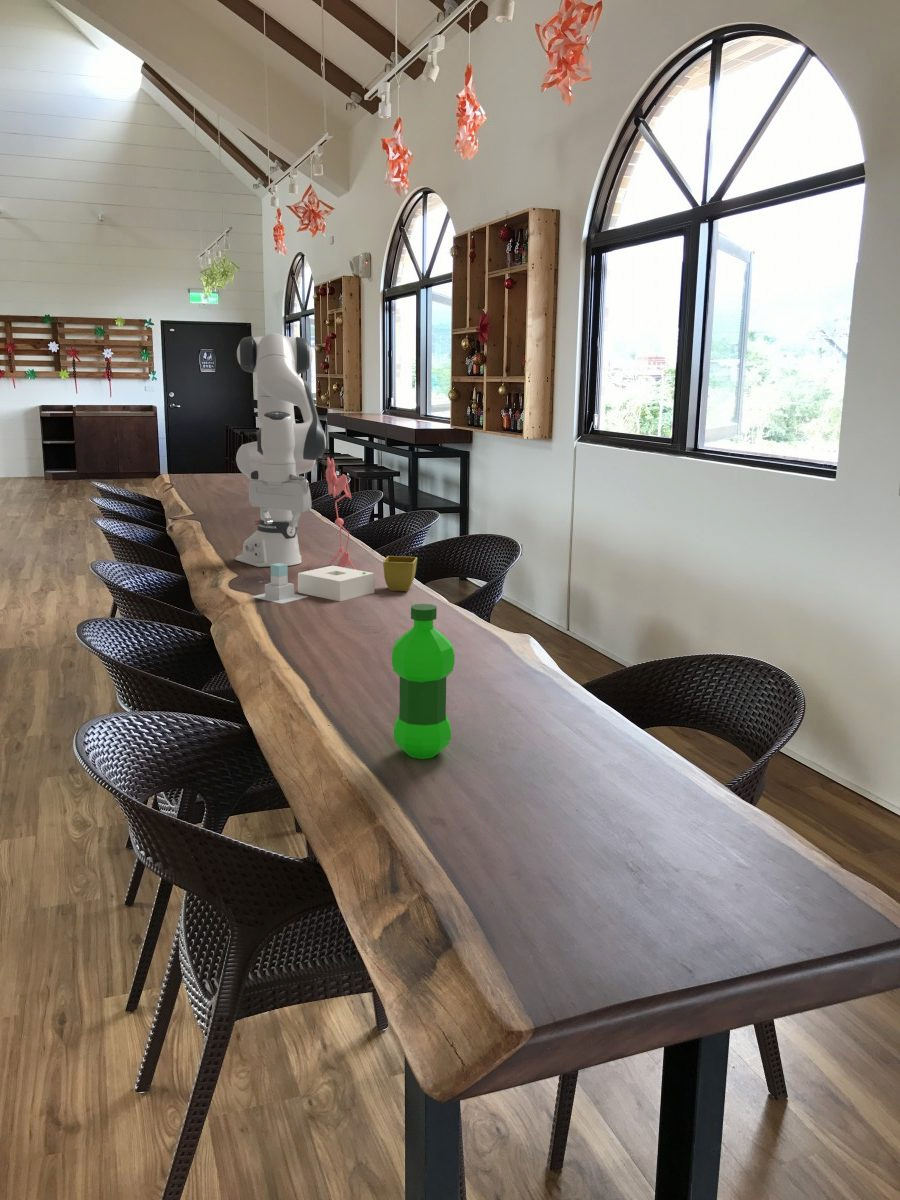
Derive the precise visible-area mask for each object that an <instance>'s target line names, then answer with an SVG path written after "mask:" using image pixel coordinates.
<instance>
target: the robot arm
mask: <svg viewBox="0 0 900 1200" xmlns="http://www.w3.org/2000/svg"><path fill="white" fill-rule="evenodd" d="M236 358H237V362H238V363H239V365H240V369H242V370H243V371H244V372H247V373H251V374H253V373H256V380H257V387H256V388H257V391H256V392H257V393H256V394H257V396H256V397H257V398H256V399H257V418H258V421H259V423H260V424H261V426H260V428H259V429H258V430H257V431H256V441H252V442H247V443H244V444H241V446H240V447H239V448H238V449H237V452H236V457H235V461H236V466H237V467H238V470H239V471H240V472H241V474H243V475H244V476H246V477H247V478H248V479H249V480H250V481H249V484H248V499H249V500H248V501H249V504H250V505H251V506H252V507H257V508H259V509H260V519H258V520H254V522H255V523H254V525H257V527H256V531H254V532H253V533H252V534H251V535H250V536H249V537H247V539H246V540H244V542H243V544H242V553H241V554H238V555H236V556H235V558H234V559H235V561H239V562H241V563H243V564H248V565H251V566H254V567H257V568H258V567H259V568H260V567H261V568H262V567H264V568H265V567H271V566H270V565H271V564H276V563H282V564H287V567H288V566H295V565H296V566H297V565H299V564H301V563H302V562H303V560H302V555H301V553H300V545H299V538H298V537H299V536H298V534H297V531H298V528H299V527H298V526H299V522H298V521H299V519H300V517H301V515H302V512H308V511H311V508H312V496H311V495H312V494H311V489H310V486H309V485H310V483H309V481H308V480H307V479H306V478H305V476H303V475H302V474H305V473H309V472H311V471H312V470H313V469H314V468H315V465H316V463H317V462H316V461H317V460H318V459H319V458H320V457H321V456H323V455H324V454H325V452H326V450H327V449H326V448H327V437H326V434H325V430H324V429H323V426H322V423H321V422H320V418H319V414H318V411H317V407H316V404H315V400H314V397H313V393H312V389H311V387H310V385H309V383H308V381H307V380H306V379H305V378H302V377H301V376H300V375H301V374H303V373H305V372H307V371H308V370H309V369H310V366H311V364H312V362H313V350H312V348H311V345H310V342H309V341H308V340H307V339H306V338H304V337H299V336H295V337H293V336H287V335H284V334H282V333H277V332H272V333H268V334H266V335H263V336H246V337H243V338H242V339H241V340H240V341H239V344H238V347H237V349H236ZM294 406H296V407H298V408H299V410H300V413H301V416H302V419H303V422H301V423H296V419H295V418H296V417H295V409H294V408H295V407H294Z"/></svg>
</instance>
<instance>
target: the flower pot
mask: <svg viewBox="0 0 900 1200" xmlns="http://www.w3.org/2000/svg"><path fill="white" fill-rule="evenodd" d="M417 564H418V557H417V556H416V557H415V556H399V555H398V556H397V555H396V556H395V555H387V556H386V558H384V559H383V561H382V565H383V575H384V580H385V584H386V586H387V589H388V590H390V591H391V592H405V591H406V592H408V591H409V590H410V588H411V587H412V585H413V583H414V582H413V581H414V580H415V576H416V571H417V566H418V565H417Z"/></svg>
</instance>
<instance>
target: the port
mask: <svg viewBox="0 0 900 1200" xmlns="http://www.w3.org/2000/svg"><path fill="white" fill-rule="evenodd" d="M297 593H299V594H304V595H309V596H313V597H319V598H323V599H327V600H331V601H336V602H344V601H347V600H351V599H354V598H359V597H362V596H366V595H369V594H375V572H369V571H365V570H360V569H359V570H358V569H355V570H354V569H353V568H348V567H344V568H343V567H339V565H338V566H337V565H329V566H325V567H320V568H315V569H309V570H306V571H301V572H298V573H297Z"/></svg>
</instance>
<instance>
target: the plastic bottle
mask: <svg viewBox="0 0 900 1200" xmlns="http://www.w3.org/2000/svg"><path fill="white" fill-rule="evenodd" d="M437 609H438V608H437V605H435V604H431V603H430V604H428V603H417V604H416V603H415V604H412V605H410V619H411V620H413V627H411V628H410V629H409V630H408V631H407V632H404V634H403V635H401V636H400V637H399V638H397V640H396V641H395V642H394V645H393V646H392V653H391V665H392V669H393V670H392V671H394V672H395V674H396V675H397V676H399V713H398V715H397V716H396V719H395V721H394V724H393V740H394V742H395V744H396V745H397V747H398V748H399V749H400V750H402V751H403V752H404V753H406V755H407V756H409V757H411V758H413V759H420V760H425V759H432V758H434V757H435V756H437V755H438V754H439V753H440V752H442V751H443V750H444V749H446V747H448V745H449V743H450V741H451V739H452V728H451V723H450V719H449V717H448V715H447V714H446V713H447V677H448V676H449V675H450V674H451V673H452V672H453V670H454V666H455V657H456V656H455V649H454V647H453V644H452V642H451V641H450V640H449V639H448V638H447V637H446V636H445V635H444V634H443V633H441V631H439V630H438V629H437V628H435V627H434V621H435V620H436V619H437V614H438V613H437V612H438V611H437Z"/></svg>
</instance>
